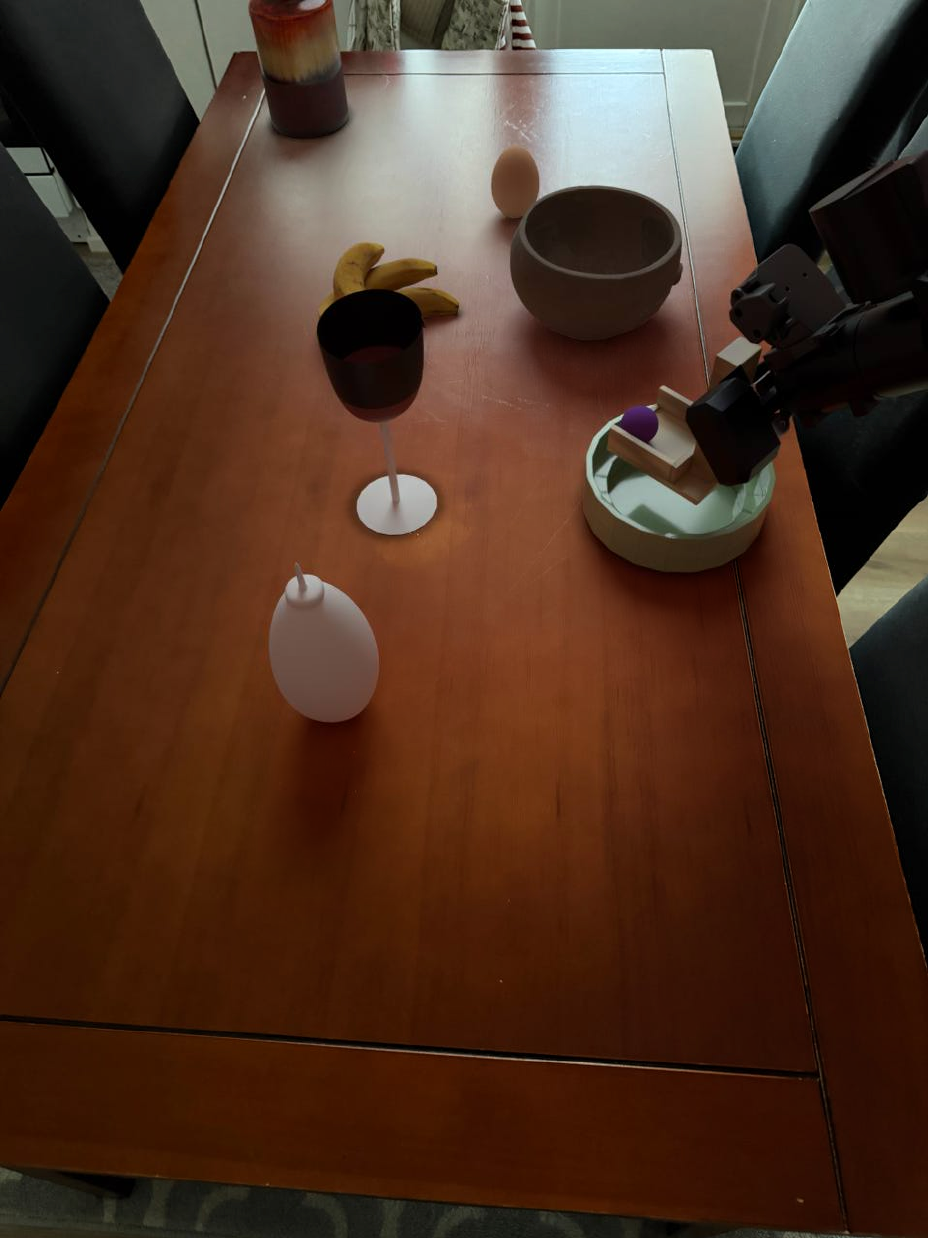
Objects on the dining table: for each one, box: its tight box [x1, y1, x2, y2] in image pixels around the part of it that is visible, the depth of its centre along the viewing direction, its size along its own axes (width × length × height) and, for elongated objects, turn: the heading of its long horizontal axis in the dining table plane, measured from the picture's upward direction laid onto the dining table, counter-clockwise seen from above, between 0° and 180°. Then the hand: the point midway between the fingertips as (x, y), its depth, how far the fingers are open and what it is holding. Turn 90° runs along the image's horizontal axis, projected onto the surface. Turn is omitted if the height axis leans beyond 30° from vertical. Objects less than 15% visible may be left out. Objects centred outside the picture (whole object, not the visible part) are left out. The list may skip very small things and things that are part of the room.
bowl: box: [509, 184, 684, 341], centre depth 95 cm, size 17×18×10 cm
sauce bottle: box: [268, 562, 380, 723], centre depth 65 cm, size 8×8×18 cm
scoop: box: [607, 335, 763, 506], centre depth 72 cm, size 10×7×13 cm
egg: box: [490, 145, 541, 219], centre depth 107 cm, size 6×6×8 cm
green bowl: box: [581, 403, 777, 573], centre depth 81 cm, size 16×16×5 cm
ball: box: [620, 405, 659, 443], centre depth 76 cm, size 3×3×3 cm
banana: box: [318, 241, 460, 329], centre depth 97 cm, size 15×19×6 cm
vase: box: [247, 0, 350, 139], centre depth 117 cm, size 11×11×20 cm
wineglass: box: [316, 289, 438, 536], centre depth 76 cm, size 8×9×20 cm
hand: (709, 405), depth 71 cm, fingers closed on scoop, 3 cm apart
